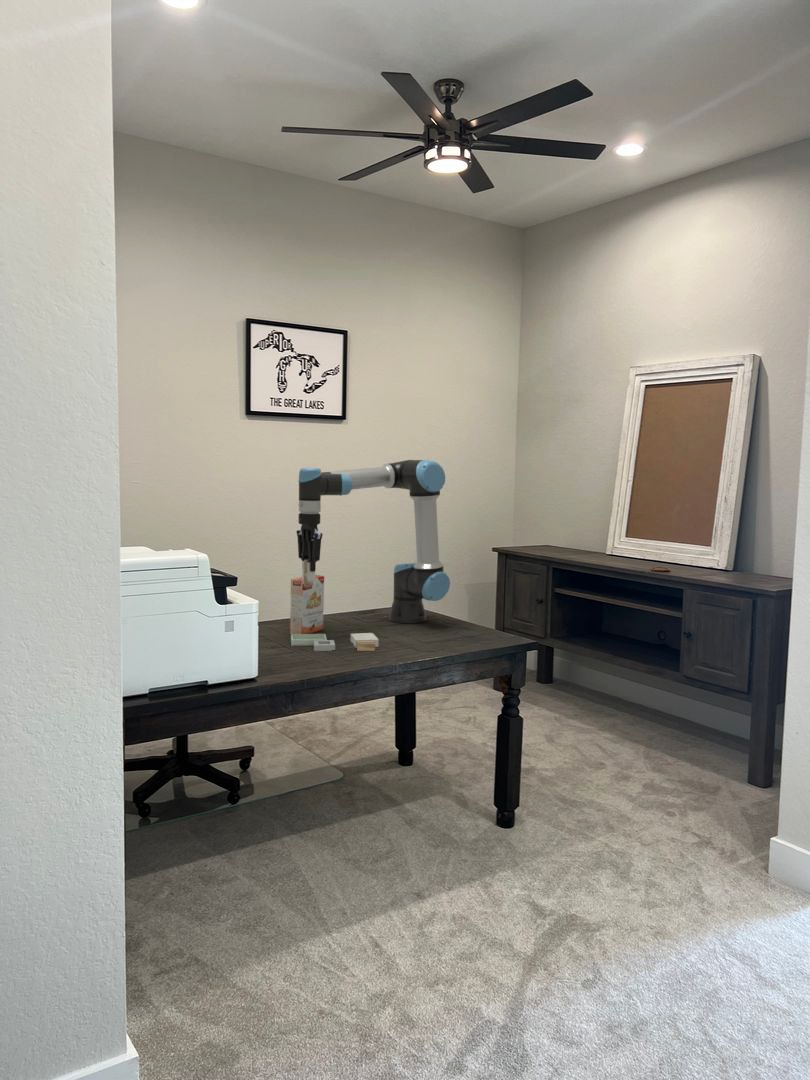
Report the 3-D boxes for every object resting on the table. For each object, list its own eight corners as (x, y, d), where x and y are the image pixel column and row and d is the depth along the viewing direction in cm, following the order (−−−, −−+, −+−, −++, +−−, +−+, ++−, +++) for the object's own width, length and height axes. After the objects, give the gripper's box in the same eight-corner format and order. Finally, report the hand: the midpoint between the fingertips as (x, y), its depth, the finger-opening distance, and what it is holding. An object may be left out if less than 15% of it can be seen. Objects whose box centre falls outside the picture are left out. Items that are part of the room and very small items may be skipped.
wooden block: (356, 648, 268) (356, 641, 268) (373, 647, 269) (373, 640, 269) (357, 651, 264) (357, 643, 264) (375, 650, 265) (375, 643, 265)
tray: (290, 639, 278) (291, 634, 278) (325, 639, 280) (325, 633, 280) (291, 646, 269) (291, 640, 269) (326, 645, 271) (326, 639, 271)
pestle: (302, 585, 272) (302, 559, 272) (309, 584, 274) (310, 559, 274) (307, 586, 270) (307, 560, 269) (314, 585, 272) (315, 560, 271)
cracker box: (302, 637, 283) (303, 580, 280) (289, 635, 286) (289, 578, 283) (324, 630, 295) (325, 575, 293) (311, 628, 298) (311, 573, 296)
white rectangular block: (350, 641, 279) (350, 633, 278) (372, 641, 281) (372, 632, 280) (355, 648, 269) (355, 640, 269) (378, 647, 271) (378, 639, 271)
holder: (313, 646, 270) (313, 640, 270) (333, 645, 271) (333, 640, 271) (314, 651, 263) (314, 645, 263) (335, 650, 264) (335, 644, 264)
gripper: (288, 511, 273) (287, 577, 276) (312, 514, 261) (311, 584, 264) (306, 510, 278) (306, 576, 280) (331, 514, 266) (330, 582, 268)
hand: (308, 579), depth 272 cm, fingers closed on pestle, 2 cm apart
